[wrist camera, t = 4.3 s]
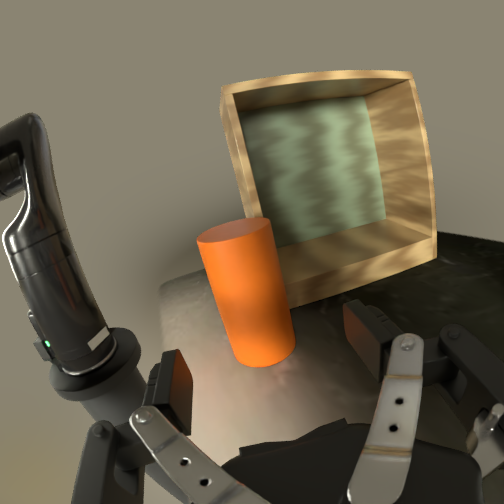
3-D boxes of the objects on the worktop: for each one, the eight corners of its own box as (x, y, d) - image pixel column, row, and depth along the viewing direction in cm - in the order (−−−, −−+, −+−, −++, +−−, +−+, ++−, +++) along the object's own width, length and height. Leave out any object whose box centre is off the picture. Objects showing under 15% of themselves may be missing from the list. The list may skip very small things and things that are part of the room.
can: (237, 374, 22) (193, 249, 18) (232, 337, 27) (198, 230, 23) (303, 356, 22) (277, 226, 18) (287, 322, 27) (263, 213, 24)
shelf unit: (277, 313, 29) (221, 85, 22) (259, 272, 41) (219, 110, 33) (437, 257, 30) (411, 71, 23) (389, 234, 42) (364, 90, 34)
